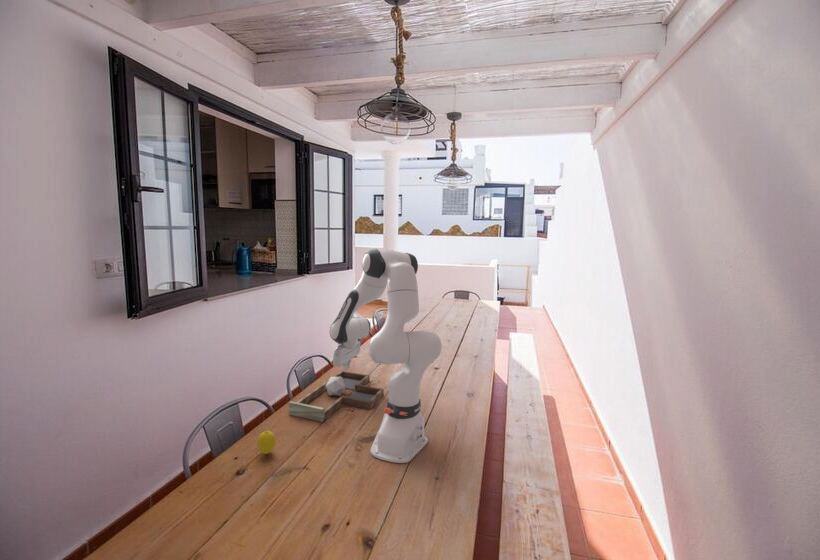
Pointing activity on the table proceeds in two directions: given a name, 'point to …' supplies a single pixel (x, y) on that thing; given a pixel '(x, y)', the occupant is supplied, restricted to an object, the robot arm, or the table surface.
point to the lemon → (266, 442)
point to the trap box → (320, 414)
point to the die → (335, 386)
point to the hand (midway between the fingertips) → (346, 368)
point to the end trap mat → (350, 383)
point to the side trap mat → (361, 396)
